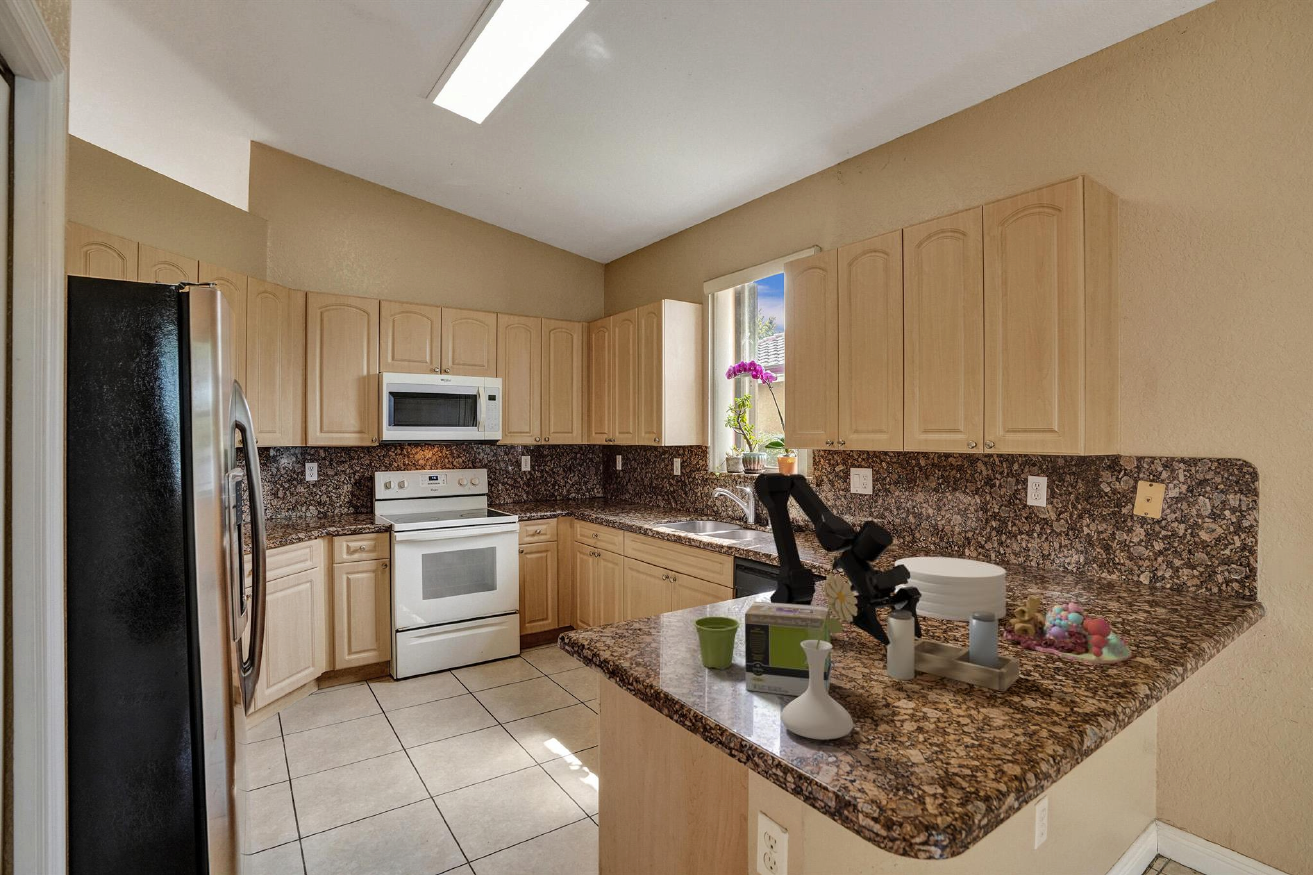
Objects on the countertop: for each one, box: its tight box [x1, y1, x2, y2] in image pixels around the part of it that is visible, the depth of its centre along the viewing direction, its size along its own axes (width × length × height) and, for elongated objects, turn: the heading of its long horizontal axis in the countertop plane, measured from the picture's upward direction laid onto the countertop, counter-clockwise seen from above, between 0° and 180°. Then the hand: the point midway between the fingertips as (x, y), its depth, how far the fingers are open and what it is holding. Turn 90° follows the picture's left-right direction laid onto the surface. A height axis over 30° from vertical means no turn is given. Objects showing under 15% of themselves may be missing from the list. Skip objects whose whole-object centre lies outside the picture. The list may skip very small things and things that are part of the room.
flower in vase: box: [779, 572, 857, 740], centre depth 104 cm, size 13×11×25 cm
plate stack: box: [894, 556, 1007, 622], centre depth 179 cm, size 28×28×12 cm
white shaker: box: [886, 609, 915, 681], centre depth 127 cm, size 5×5×12 cm
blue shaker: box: [968, 611, 999, 670], centre depth 126 cm, size 5×5×12 cm
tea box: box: [744, 601, 832, 697], centre depth 122 cm, size 15×10×15 cm
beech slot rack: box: [914, 638, 1020, 693], centre depth 129 cm, size 19×10×4 cm, turn 46°
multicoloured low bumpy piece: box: [1003, 595, 1133, 665], centre depth 147 cm, size 25×24×9 cm
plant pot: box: [693, 616, 740, 670], centre depth 134 cm, size 9×9×9 cm
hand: (904, 640), depth 126 cm, fingers open, 9 cm apart
